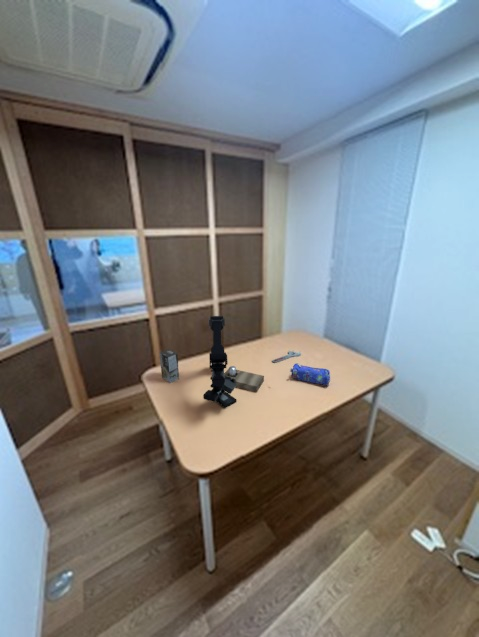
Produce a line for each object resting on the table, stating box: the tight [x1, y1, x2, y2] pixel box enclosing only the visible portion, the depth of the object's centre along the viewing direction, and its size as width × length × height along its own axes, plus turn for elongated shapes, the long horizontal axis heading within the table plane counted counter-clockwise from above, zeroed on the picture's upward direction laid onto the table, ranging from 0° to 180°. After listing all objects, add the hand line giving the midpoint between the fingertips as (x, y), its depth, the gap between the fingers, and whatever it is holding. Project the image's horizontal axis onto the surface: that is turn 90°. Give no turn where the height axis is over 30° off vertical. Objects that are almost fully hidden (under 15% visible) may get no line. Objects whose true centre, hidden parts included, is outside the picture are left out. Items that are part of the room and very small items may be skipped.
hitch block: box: [224, 368, 265, 393], centre depth 147 cm, size 22×12×4 cm, turn 67°
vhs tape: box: [218, 391, 237, 409], centre depth 132 cm, size 8×14×2 cm, turn 41°
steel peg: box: [228, 365, 237, 378], centre depth 148 cm, size 4×4×8 cm
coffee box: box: [159, 349, 180, 384], centre depth 148 cm, size 9×6×16 cm
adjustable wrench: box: [271, 350, 302, 364], centre depth 178 cm, size 8×26×2 cm, turn 120°
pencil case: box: [289, 363, 331, 386], centre depth 148 cm, size 22×9×10 cm, turn 67°
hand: (218, 402), depth 127 cm, fingers closed
